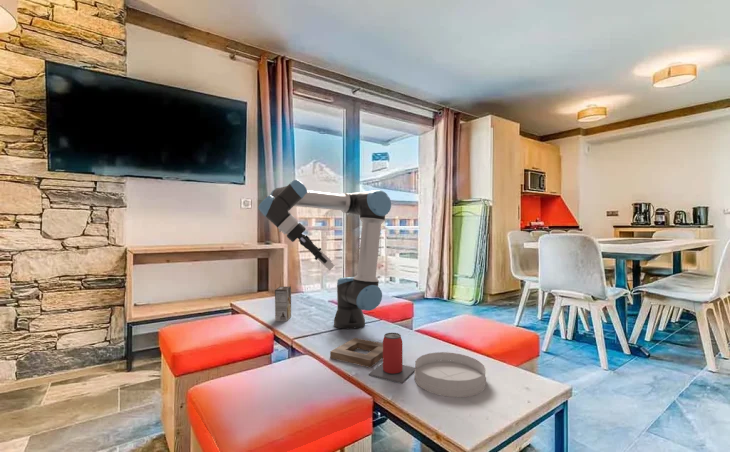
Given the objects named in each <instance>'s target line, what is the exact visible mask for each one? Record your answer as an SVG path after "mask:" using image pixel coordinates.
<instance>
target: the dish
mask: <svg viewBox="0 0 730 452" xmlns="http://www.w3.org/2000/svg"><path fill="white" fill-rule="evenodd" d="M485 367H486V366H485V365H484V364H483V363H482V362H481V361H480V360H478V359H476V358H474V357H471V356H468V355H464V354H462V353H461V354H460V353H454V352H448V351H447V352H445V351H443V352H439V351H438V352H430V353H426V354H423V355H421V356H419V357H417V358H416V360H415V367H414V368H415V372H414V381H415V382H416V384H417V385H418V387H420V388H421V389H423V390H425V391H427V392H429V393H431V394H434V395H437V396H441V397H442V396H444V397H449V398H466V397H472V396H476V395H479V394H480V393H483V391H484V390H485V389H486V386H487V377H486V368H485Z"/></svg>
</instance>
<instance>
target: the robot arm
mask: <svg viewBox="0 0 730 452" xmlns="http://www.w3.org/2000/svg"><path fill="white" fill-rule="evenodd" d="M293 207H300V208H312V209H323V210H324V209H325V210H332V211H341V212H342V213H344V214H350V215H351V214H352V215H356V216H359V220H360V221H361V223H362V225H361V231H360V232H361V234H360V241H359V242H360V243H359V244H360V245H359V253H358V263H357V271H356V272H357V273H356V275H355V276H349V277H340V278H338V279H337V281H336V282H337V284H336V288H337V289H336V291H337V293H336V296H337V298H336V300H337V301H336V302H337V303H336V304H337V309H336V312H335V316H334V319H333V326H334V327H335V328H338V329H342V330H343V329H344V330H352V329H358V328H359V329H360V328H363V327H364V326H365V325H366V319H365V316H364V312H363V311H369V312H370V311H373V310H375V309H377V307H379V305H380V304H381V302H382V299H383V292H382V290H381V288H380V286H379V279H378V278H377V267H378V258H379V249H380V247H379V246H380V241H381V240H380V239H381V230H382V229H381V227H382V224H383V223H385V221H386V215H387V214H388V213H390V212H391V208H392V201H391V198H390V197H389V195H388V193H386V191H384V190H380V189H378V190H377V189H372V190H368V191H359V192H352V193H351V192H350V193H349V192H344V193H341V194H339V193H331V192H325V191H314V190H307V187H306V186H305V184H304V183H303V182H302V181H300V180H299V179H293V180H292V181H291V182H290V183H289V184H287V185H286V186H281V187H277V188H274V189H272V191H271V192H270V195H268V196H266V197H265V198H264V199H263V200H262V201H261V202H260V203H259V205H258V207H257V208H258V210H259V212H260V213H261V214H263V216H264V217H265V218H266V219H268V220H269V221H270V222H271V223H272V224H273V226H275V227H276V228H277V229H278V232H279V233H283V235H286V238H287V239H288V240H290V242H292V243H294V242H295V241H296V240H298V241H299V244H300V245H301V246H303V248H305V249H306V250H308V251H309V252H310V253H311V254H312V255H313V256H314V260H315V261H316V260H318V261H319V262H320V263H321V264H322V265H323V266H324V267H325V268H326V269H327V270H328V271H331V270H332V269H333V268H334V267H335V264H334V263H333V261H332V259H330V258H329V257H328V256H327V255H326V254H325V253H324V252H323V251H322V248H321V247H317V245H316V244H315V243H314V242H313V241H312V240H311V238H310V237H309V236H308V235H305V234H303V233H304V232H305V231H306V227H305V226H304V225H303V224H302V223H301V222H299V220H298V219H297V218H296V217H295V216H294V215H293V214H292V213H291V212H290V210H291V209H292V208H293Z"/></svg>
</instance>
